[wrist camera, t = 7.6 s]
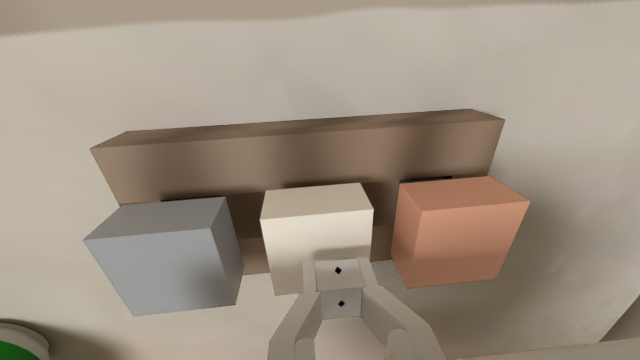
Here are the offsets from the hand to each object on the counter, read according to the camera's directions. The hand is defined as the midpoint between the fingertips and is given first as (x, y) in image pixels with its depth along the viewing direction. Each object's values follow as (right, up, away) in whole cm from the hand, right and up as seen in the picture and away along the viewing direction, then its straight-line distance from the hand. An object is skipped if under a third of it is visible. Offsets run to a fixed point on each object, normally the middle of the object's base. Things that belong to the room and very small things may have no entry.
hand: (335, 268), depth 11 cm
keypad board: (-1, +3, +7) cm, 8 cm away
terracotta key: (+6, +3, +6) cm, 9 cm away
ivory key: (-1, +3, +6) cm, 7 cm away
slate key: (-8, +2, +5) cm, 10 cm away
